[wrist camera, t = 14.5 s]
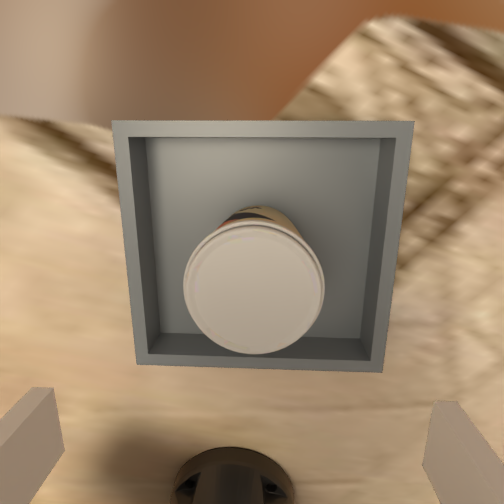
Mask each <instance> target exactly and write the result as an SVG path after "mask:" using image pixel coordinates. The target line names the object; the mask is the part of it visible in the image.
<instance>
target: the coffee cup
mask: <svg viewBox="0 0 504 504" xmlns="http://www.w3.org/2000/svg"><path fill="white" fill-rule="evenodd" d="M183 291H184V298H185V302H186V305H187V308H188V311H189V313H190V315H191V317H192V318H193V320H194V321H195V323H196V324H197V326H198V327H199V328H200V330H201V331H202V332H203V333H204V334H205V335H206V336H207V337H208V338H210V339H211V340H212V341H214V342H215V343H217V344H218V345H220V346H222V347H224V348H226V349H229V350H232V351H235V352H239V353H245V354H264V353H270V352H274V351H277V350H280V349H283V348H285V347H287V346H289V345H291V344H292V343H294V342H295V341H297V340H298V339H299V338H300V337H301V336H303V335H304V334H305V333H306V332H307V331H308V329H309V328H310V327H311V326H312V325H313V323H314V322H315V320H316V319H317V317H318V315H319V313H320V310H321V307H322V304H323V300H324V292H325V284H324V276H323V271H322V268H321V265H320V263H319V260H318V258H317V257H316V255H315V253H314V252H313V250H312V249H311V248H310V246H309V245H308V244H307V243H306V242H305V241H304V239H303V238H302V236H301V235H300V233H299V232H298V230H297V229H296V227H295V226H294V225H293V223H292V222H291V221H290V220H289V219H288V218H287V217H286V216H285V215H284V214H283V213H281V212H280V211H278V210H276V209H274V208H271V207H268V206H261V205H256V206H249V207H245V208H243V209H240V210H238V211H237V212H235V213H234V214H232V215H231V216H230V217H229V218H228V219H226V220H225V221H224V222H223V223H222V224H221V225H220V226H219V227H218V228H217V229H216V230H215V231H214V232H212V233H211V234H209V235H208V236H207V237H206V238H205V239H203V240H202V241H201V243H200V244H199V245H198V246H197V247H196V249H195V250H194V251H193V253H192V255H191V257H190V258H189V261H188V263H187V266H186V269H185V274H184V280H183Z"/></svg>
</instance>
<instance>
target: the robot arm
mask: <svg viewBox="0 0 504 504" xmlns="http://www.w3.org/2000/svg"><path fill="white" fill-rule="evenodd" d="M64 451H65V449H64V444H63V438H62V433H61V427H60V422H59V416H58V410H57V405H56V399H55V394H54V388H42V387H32V388H31V389H30V390H29V391H28V392H27V393H26V394H25V395H24V396H23V397H22V398H21V399H20V400H19V401H18V402H17V403H16V404H15V405H14V406H13V407H12V408H11V409H10V410H9V411H8V412H7V413H6V414H5V415H4V416H3V417H2V418H1V419H0V504H29V503H30V502H31V500H32V499H33V497H34V496H35V494H36V493H37V491H38V490H39V488H40V487H41V485H42V484H43V482H44V481H45V479H46V478H47V476H48V475H49V473H50V472H51V470H52V469H53V467H54V466H55V464H56V463H57V461H58V460H59V458H60V457H61V455H62V454H63V452H64ZM422 466H423V468H424V470H425V472H426V474H427V476H428V478H429V480H430V482H431V484H432V486H433V489H434V491H435V493H436V495H437V497H438V499H439V501H440V503H441V504H504V464H503V463H502V461H501V460H500V459H499V457H498V456H497V455H496V453H495V452H494V451H493V449H492V448H491V447H490V445H489V444H488V443H487V441H486V440H485V439H484V437H483V436H482V434H481V433H480V432H479V430H478V429H477V428H476V426H475V425H474V424H473V422H472V421H471V420H470V418H469V417H468V416H467V414H466V413H465V412H464V410H463V409H462V408H461V406H460V405H459V403H458V402H456V401H434V402H433V408H432V414H431V419H430V425H429V431H428V436H427V442H426V447H425V453H424V459H423V464H422ZM170 504H294V493H293V488H292V485H291V482H290V480H289V478H288V476H287V475H286V473H285V472H284V471H283V470H282V469H281V468H280V467H279V466H278V465H277V464H276V463H275V462H273V461H272V460H270V459H269V458H267V457H265V456H263V455H261V454H259V453H256V452H253V451H250V450H245V449H240V448H219V449H213V450H209V451H206V452H204V453H201V454H199V455H197V456H195V457H194V458H192V459H191V460H189V461H188V462H187V463H186V464H185V465H184V466H183V467H182V468H181V470H180V471H179V473H178V475H177V477H176V480H175V483H174V487H173V490H172V494H171V499H170Z"/></svg>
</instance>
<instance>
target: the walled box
mask: <svg viewBox="0 0 504 504" xmlns="http://www.w3.org/2000/svg"><path fill="white" fill-rule="evenodd" d="M414 122H415V121H114V120H113V121H112V131H113V140H114V150H115V160H116V169H117V179H118V189H119V198H120V208H121V218H122V228H123V237H124V247H125V257H126V266H127V276H128V286H129V295H130V305H131V315H132V324H133V334H134V344H135V353H136V363H137V365H163V366H194V367H224V368H254V369H285V370H315V371H346V372H376V373H382V371H383V363H384V355H385V347H386V340H387V332H388V324H389V316H390V308H391V301H392V293H393V285H394V277H395V270H396V262H397V254H398V246H399V238H400V231H401V223H402V215H403V207H404V199H405V192H406V184H407V176H408V168H409V161H410V153H411V145H412V137H413V129H414ZM256 205H261V206H268V207H271V208H274V209H276V210H278V211H280V212H281V213H283V214H284V215H285V216H286V217H287V218H288V219H289V220H290V221H291V222H292V223H293V225H294V226H295V227H296V229H297V230H298V232H299V233H300V235H301V236H302V238H303V239H304V241H305V242H306V243H307V244H308V245H309V246H310V248H311V249H312V250H313V252H314V253H315V255H316V257H317V258H318V260H319V263H320V265H321V268H322V271H323V276H324V284H325V292H324V300H323V304H322V307H321V310H320V313H319V315H318V317H317V319H316V320H315V322H314V323H313V325H312V326H311V327H310V328H309V329H308V331H307V332H306V333H305V334H304V335H303V336H301V337H300V338H299V339H298V340H297V341H295V342H294V343H292V344H291V345H289V346H287V347H285V348H283V349H280V350H277V351H274V352H270V353H264V354H245V353H239V352H235V351H232V350H229V349H226V348H224V347H222V346H220V345H218V344H217V343H215V342H214V341H212V340H211V339H210V338H208V337H207V336H206V335H205V334H204V333H203V332H202V331H201V330H200V328H199V327H198V326H197V324H196V323H195V321H194V320H193V318H192V317H191V315H190V313H189V311H188V308H187V305H186V302H185V298H184V291H183V280H184V274H185V269H186V266H187V263H188V261H189V258H190V257H191V255H192V253H193V251H194V250H195V249H196V247H197V246H198V245H199V244H200V243H201V241H202V240H203V239H205V238H206V237H207V236H208V235H209V234H211V233H212V232H214V231H215V230H216V229H217V228H218V227H219V226H220V225H221V224H222V223H223V222H224V221H225V220H226V219H228V218H229V217H230V216H231V215H232V214H234V213H235V212H237V211H238V210H240V209H243V208H245V207H249V206H256Z"/></svg>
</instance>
